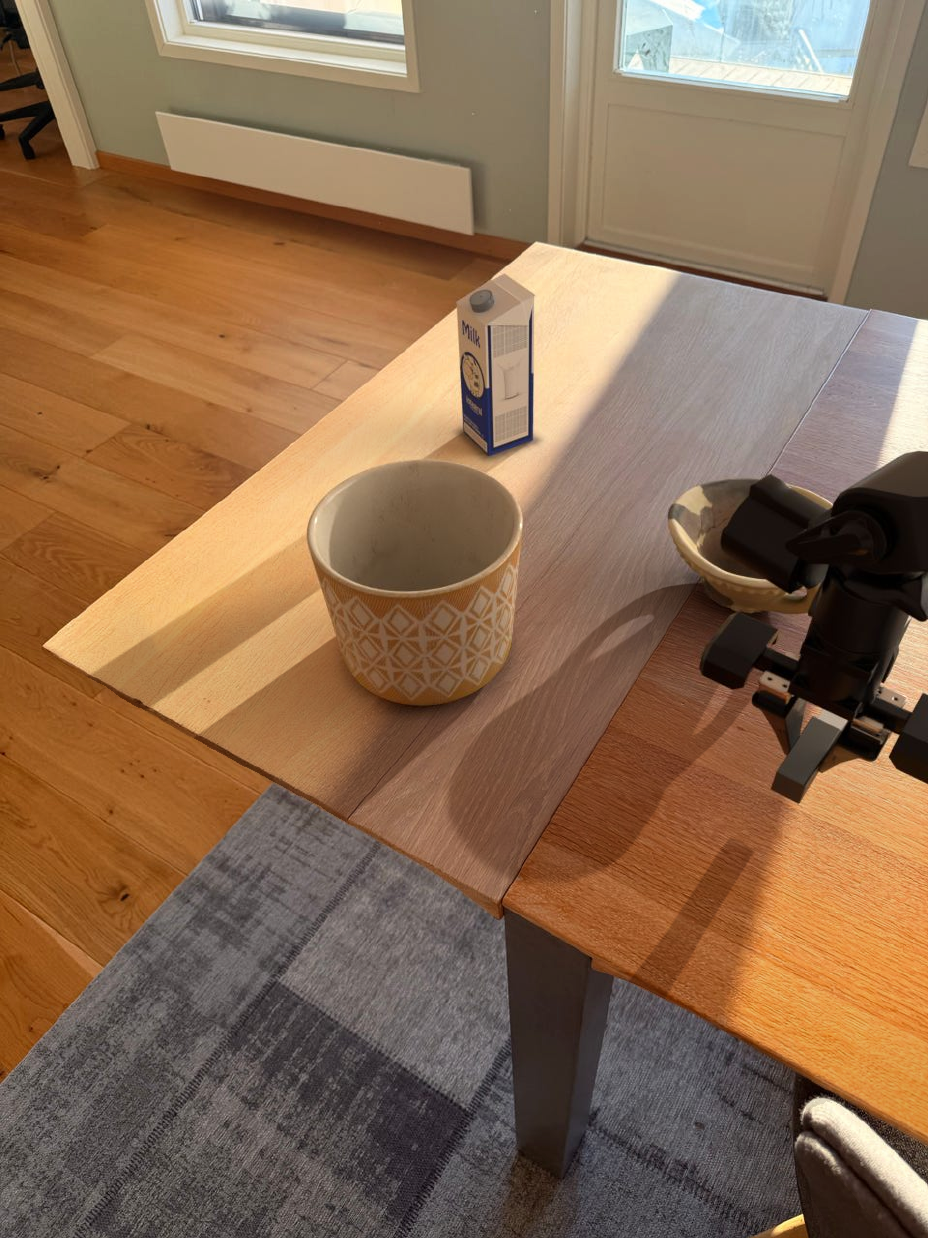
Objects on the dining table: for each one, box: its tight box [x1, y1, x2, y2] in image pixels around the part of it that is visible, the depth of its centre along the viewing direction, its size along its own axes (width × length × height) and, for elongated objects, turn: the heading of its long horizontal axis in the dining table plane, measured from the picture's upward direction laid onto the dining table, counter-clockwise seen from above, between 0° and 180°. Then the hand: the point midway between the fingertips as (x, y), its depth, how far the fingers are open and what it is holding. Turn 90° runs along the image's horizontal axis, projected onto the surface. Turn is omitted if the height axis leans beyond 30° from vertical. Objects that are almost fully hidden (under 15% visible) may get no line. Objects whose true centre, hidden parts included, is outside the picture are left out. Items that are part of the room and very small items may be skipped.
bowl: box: [667, 477, 833, 615], centre depth 93 cm, size 18×18×10 cm
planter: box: [306, 459, 524, 707], centre depth 87 cm, size 19×19×16 cm
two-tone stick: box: [770, 708, 847, 805], centre depth 76 cm, size 17×2×2 cm, turn 142°
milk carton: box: [455, 273, 536, 457], centre depth 112 cm, size 7×7×20 cm
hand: (805, 760), depth 73 cm, fingers closed on two-tone stick, 2 cm apart
